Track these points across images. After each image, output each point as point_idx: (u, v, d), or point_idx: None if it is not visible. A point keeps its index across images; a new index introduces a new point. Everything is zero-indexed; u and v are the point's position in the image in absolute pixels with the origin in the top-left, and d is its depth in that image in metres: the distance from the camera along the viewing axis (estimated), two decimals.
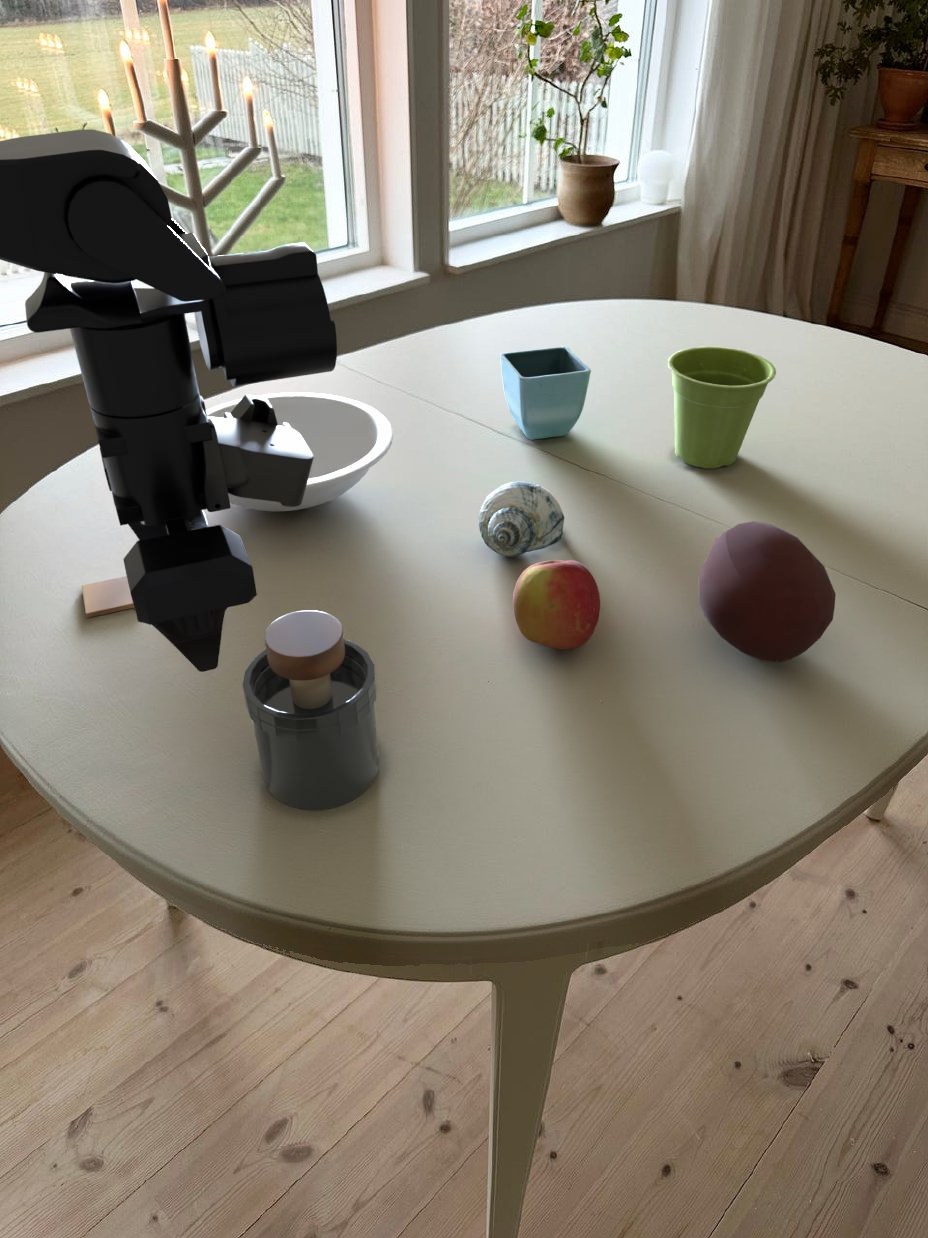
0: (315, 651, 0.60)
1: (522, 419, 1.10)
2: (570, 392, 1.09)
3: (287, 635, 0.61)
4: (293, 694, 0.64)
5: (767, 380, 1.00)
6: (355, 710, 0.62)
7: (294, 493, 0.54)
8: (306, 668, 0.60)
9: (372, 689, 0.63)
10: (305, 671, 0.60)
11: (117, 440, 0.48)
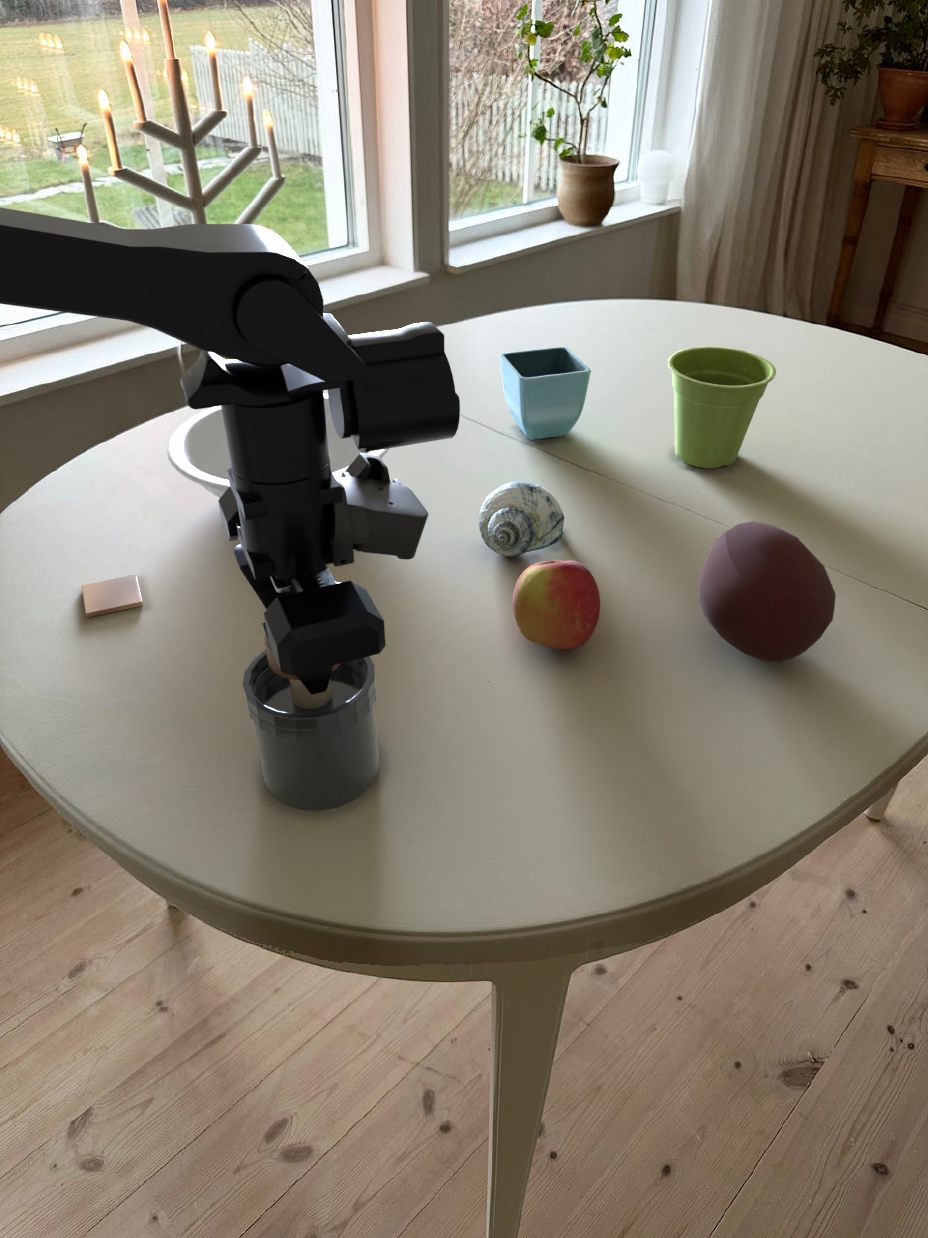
0: None
1: (522, 419, 1.10)
2: (570, 392, 1.09)
3: None
4: (293, 694, 0.64)
5: (767, 380, 1.00)
6: (355, 710, 0.62)
7: (410, 547, 0.58)
8: None
9: (372, 689, 0.63)
10: None
11: (259, 504, 0.52)
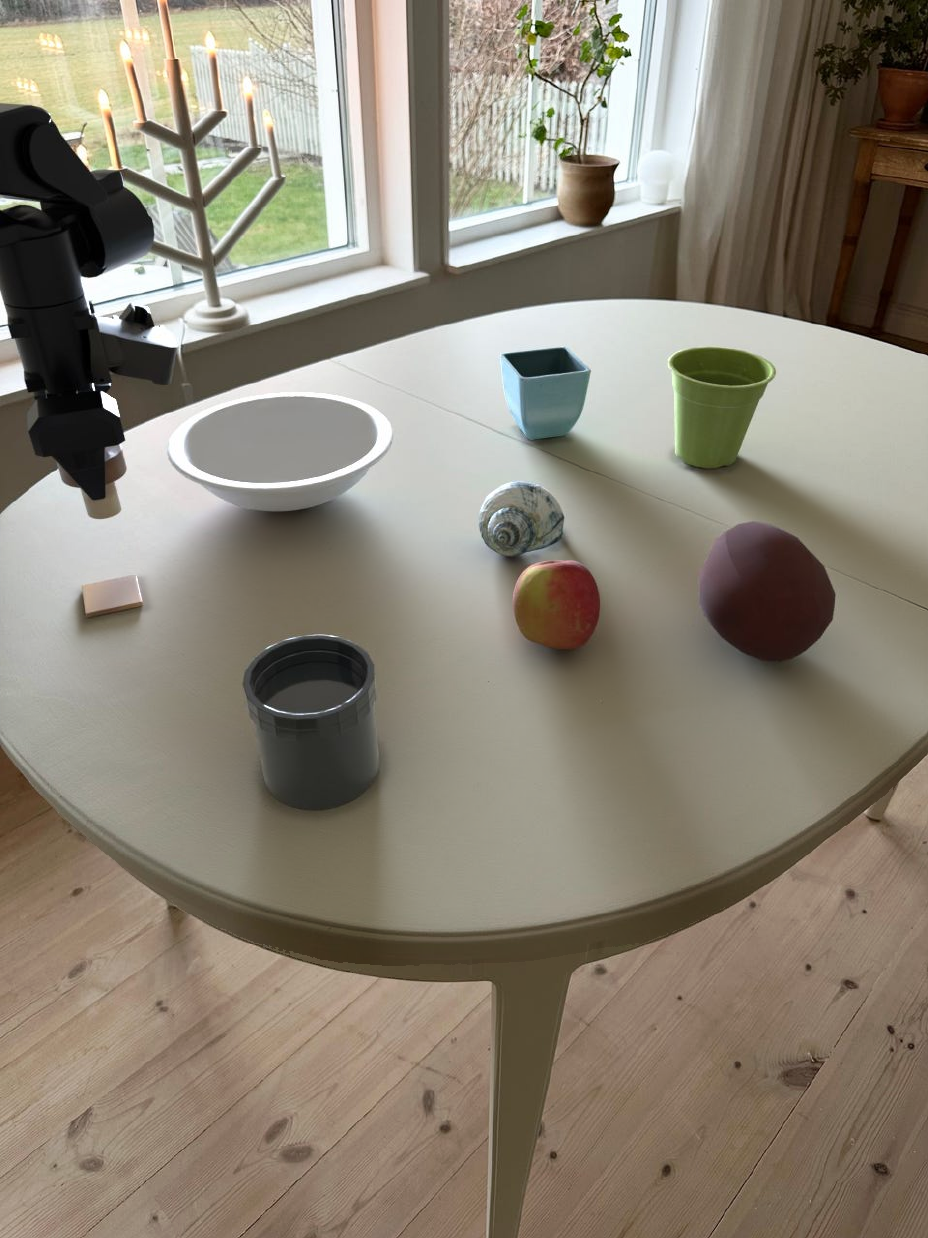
0: None
1: (522, 419, 1.10)
2: (570, 392, 1.09)
3: None
4: (86, 506, 0.78)
5: (767, 380, 1.00)
6: (355, 710, 0.62)
7: (162, 374, 0.72)
8: None
9: (372, 689, 0.63)
10: None
11: (22, 325, 0.66)
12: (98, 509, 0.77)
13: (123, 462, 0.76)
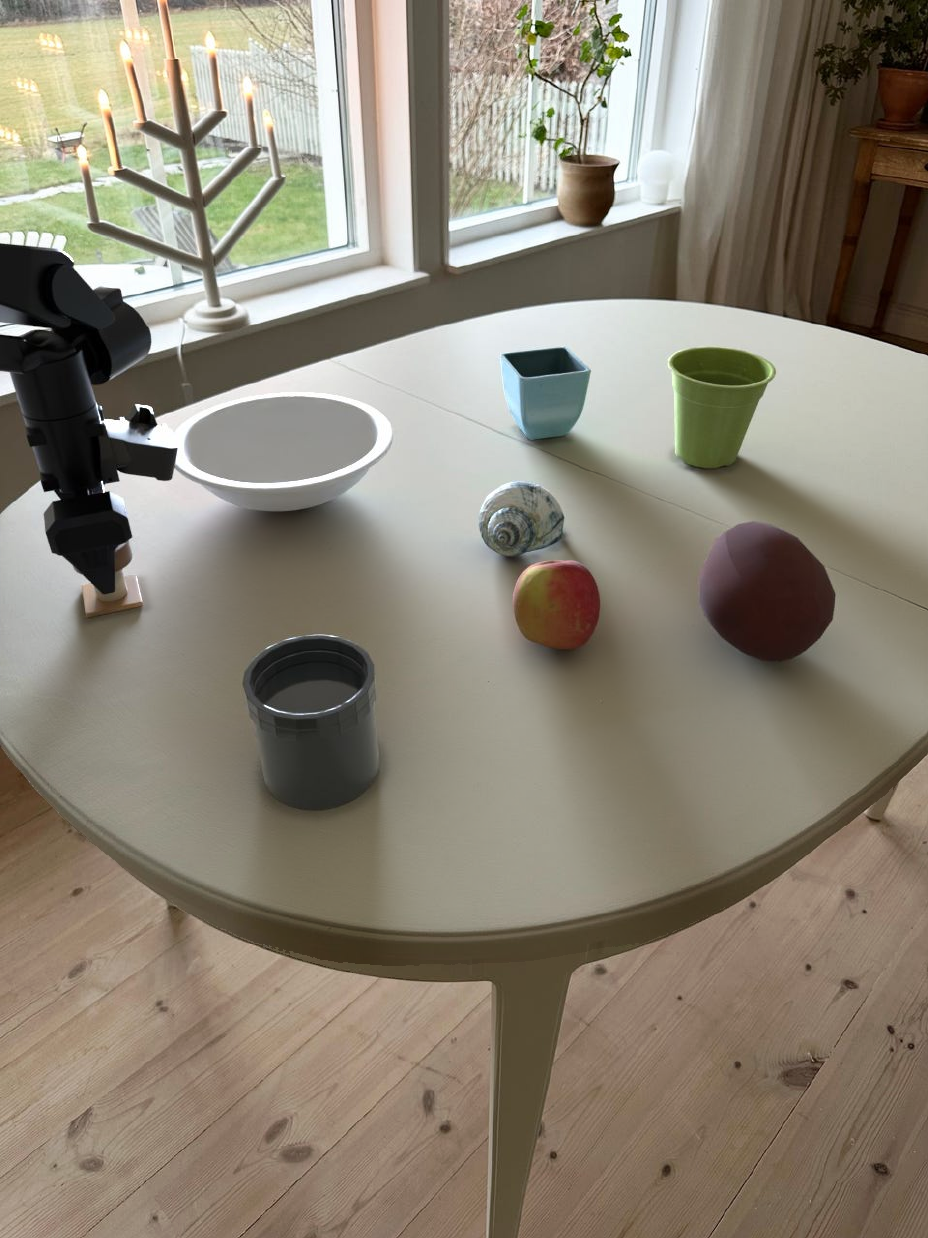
0: None
1: (522, 419, 1.10)
2: (570, 392, 1.09)
3: None
4: (95, 590, 0.85)
5: (767, 380, 1.00)
6: (355, 710, 0.62)
7: (165, 471, 0.79)
8: None
9: (372, 689, 0.63)
10: None
11: (39, 435, 0.74)
12: None
13: (129, 551, 0.84)
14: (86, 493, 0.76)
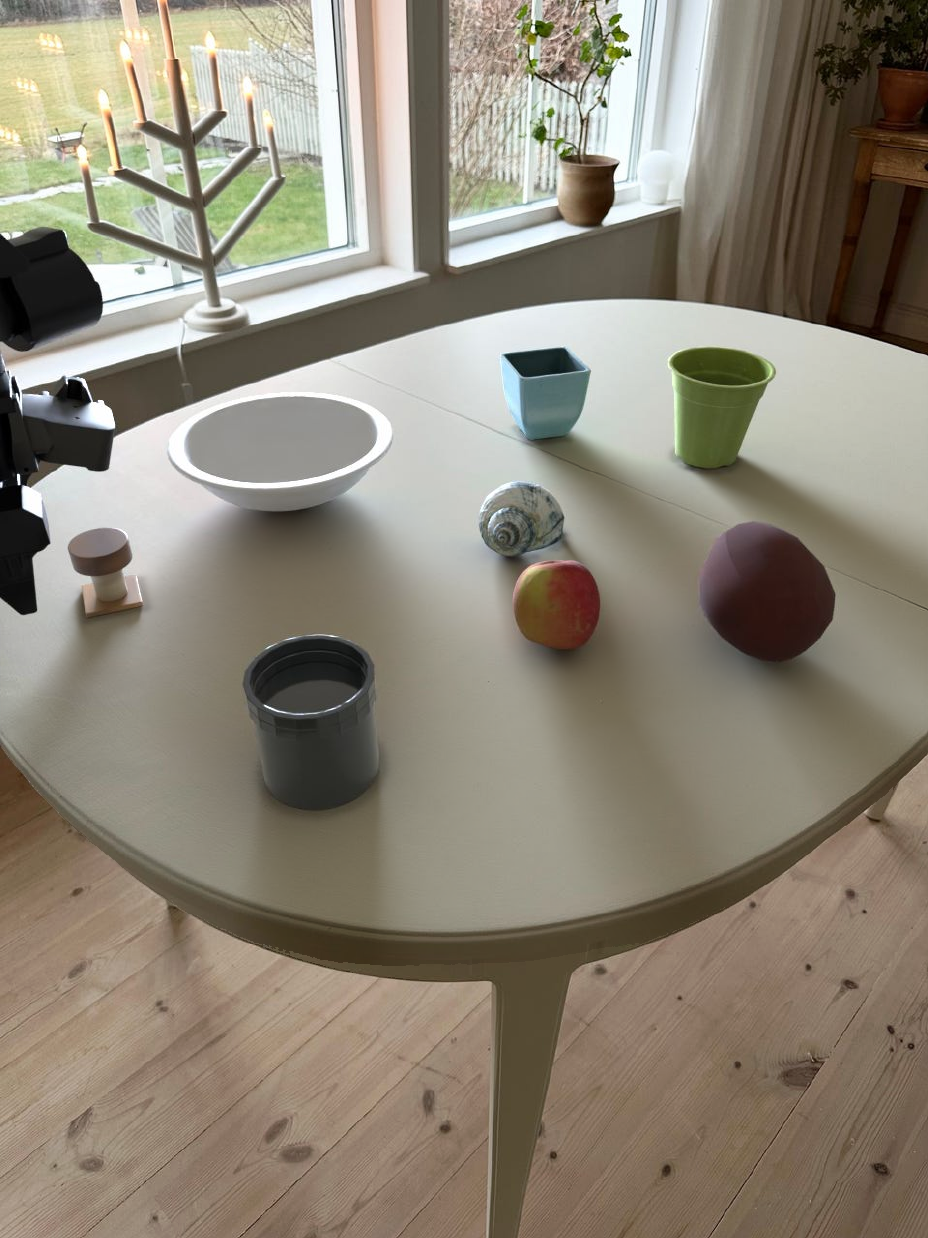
0: (102, 553, 0.81)
1: (522, 419, 1.10)
2: (570, 392, 1.09)
3: (85, 543, 0.83)
4: (95, 590, 0.85)
5: (767, 380, 1.00)
6: (355, 710, 0.62)
7: (98, 459, 0.63)
8: (96, 566, 0.82)
9: (372, 689, 0.63)
10: (95, 569, 0.82)
11: None
12: (106, 593, 0.85)
13: (129, 551, 0.84)
14: None
